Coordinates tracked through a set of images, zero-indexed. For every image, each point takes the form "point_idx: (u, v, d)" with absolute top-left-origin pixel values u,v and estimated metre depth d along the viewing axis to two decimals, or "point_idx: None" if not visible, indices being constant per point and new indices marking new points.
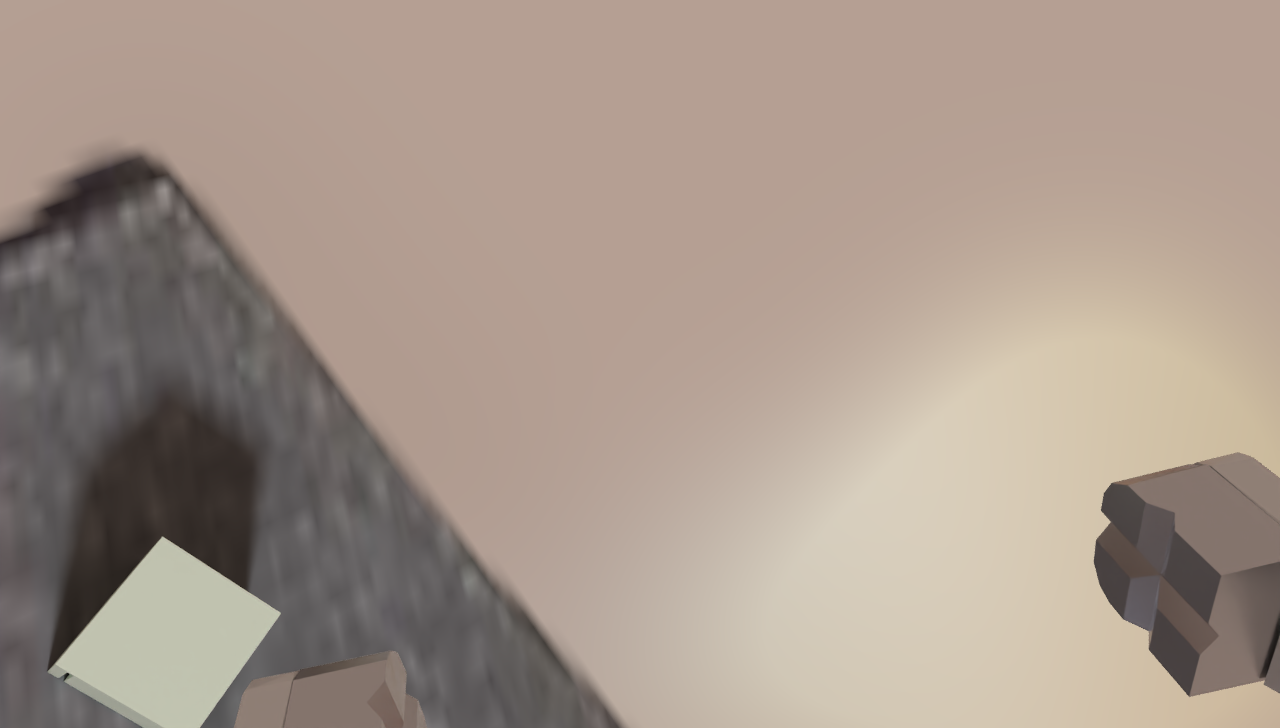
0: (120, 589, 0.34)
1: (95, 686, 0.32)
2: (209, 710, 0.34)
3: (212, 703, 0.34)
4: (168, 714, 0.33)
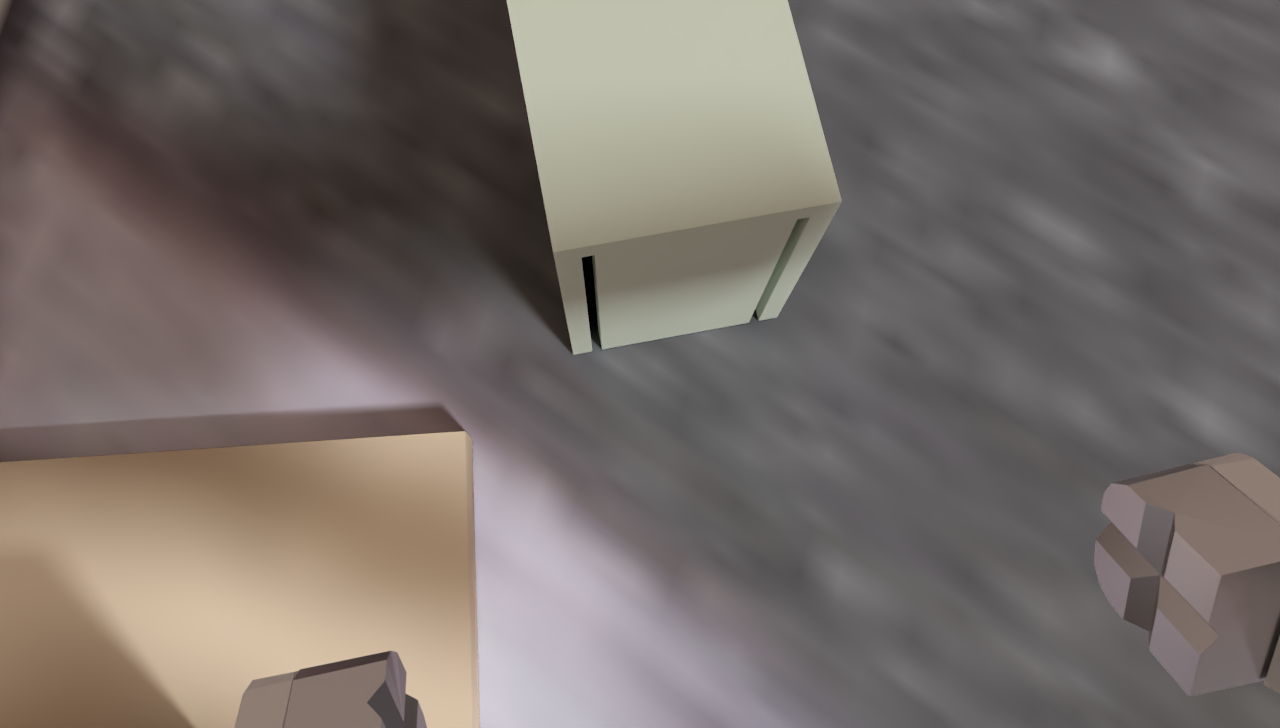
0: (528, 100, 0.17)
1: (636, 235, 0.17)
2: (822, 143, 0.17)
3: (816, 132, 0.17)
4: (773, 191, 0.17)
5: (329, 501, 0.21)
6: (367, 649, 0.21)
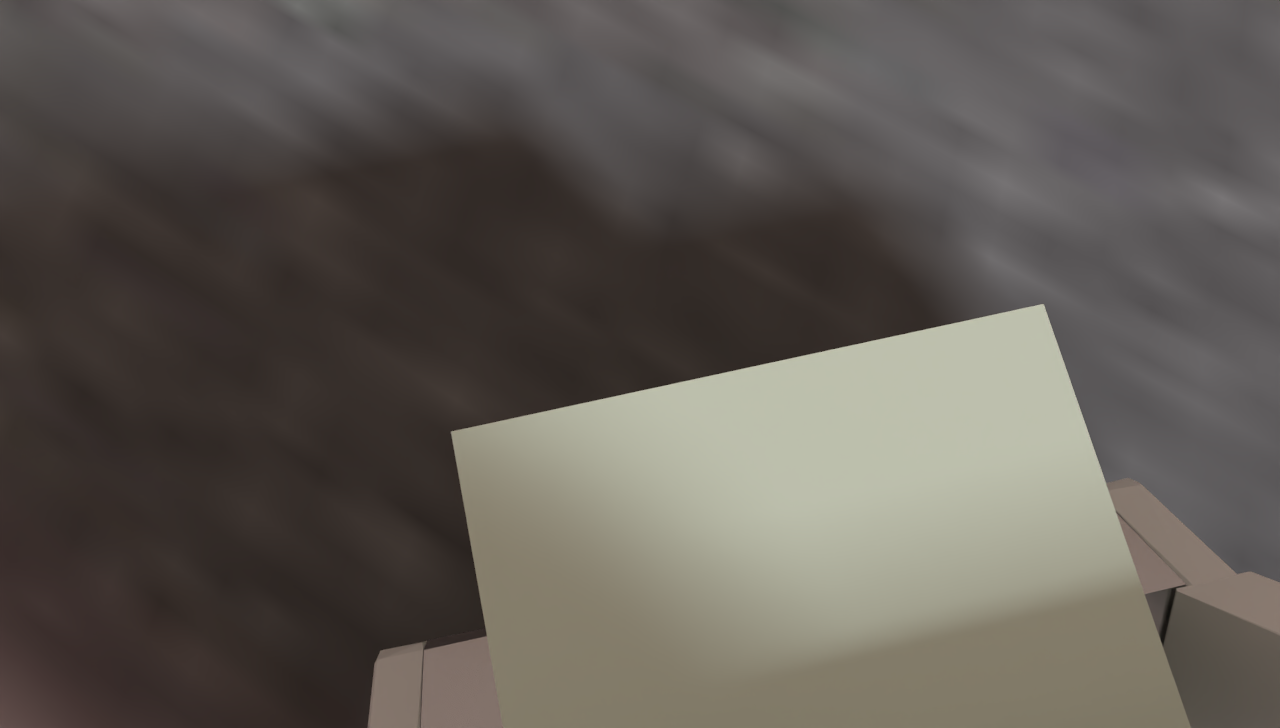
0: (508, 708, 0.07)
1: None
2: None
3: None
4: None
5: None
6: None
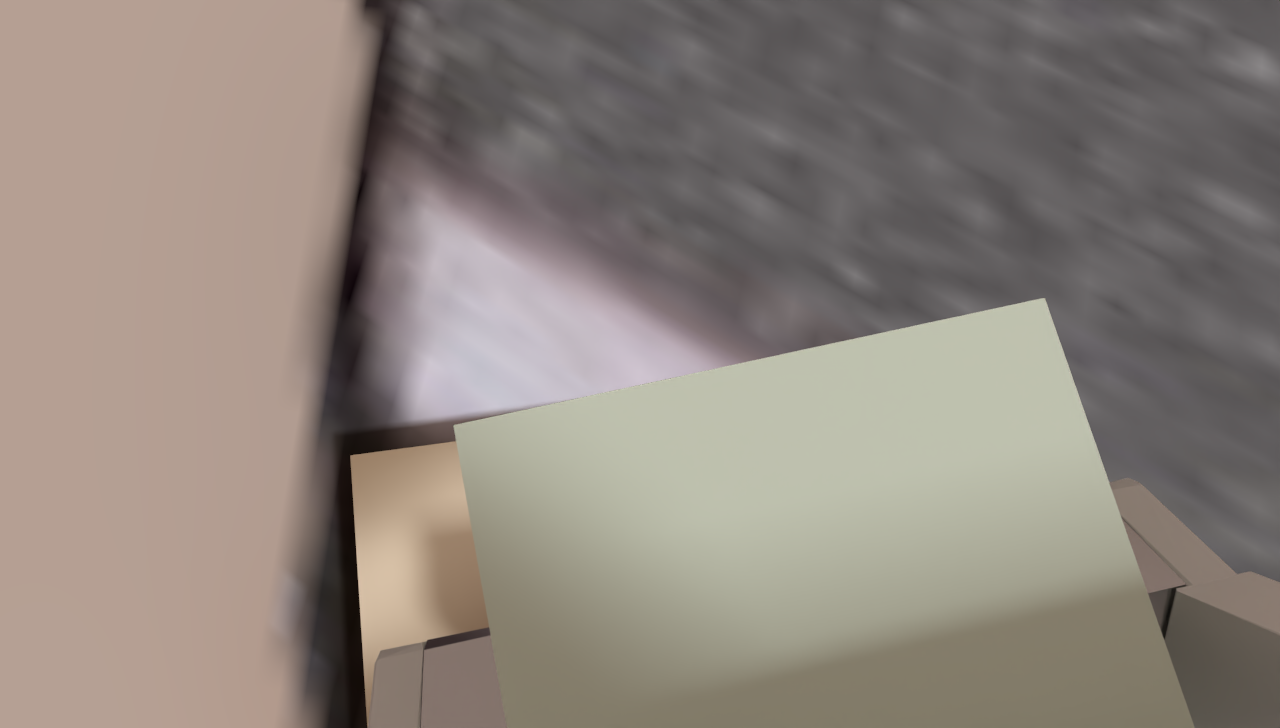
0: (510, 700, 0.07)
1: None
2: None
3: None
4: None
5: None
6: None
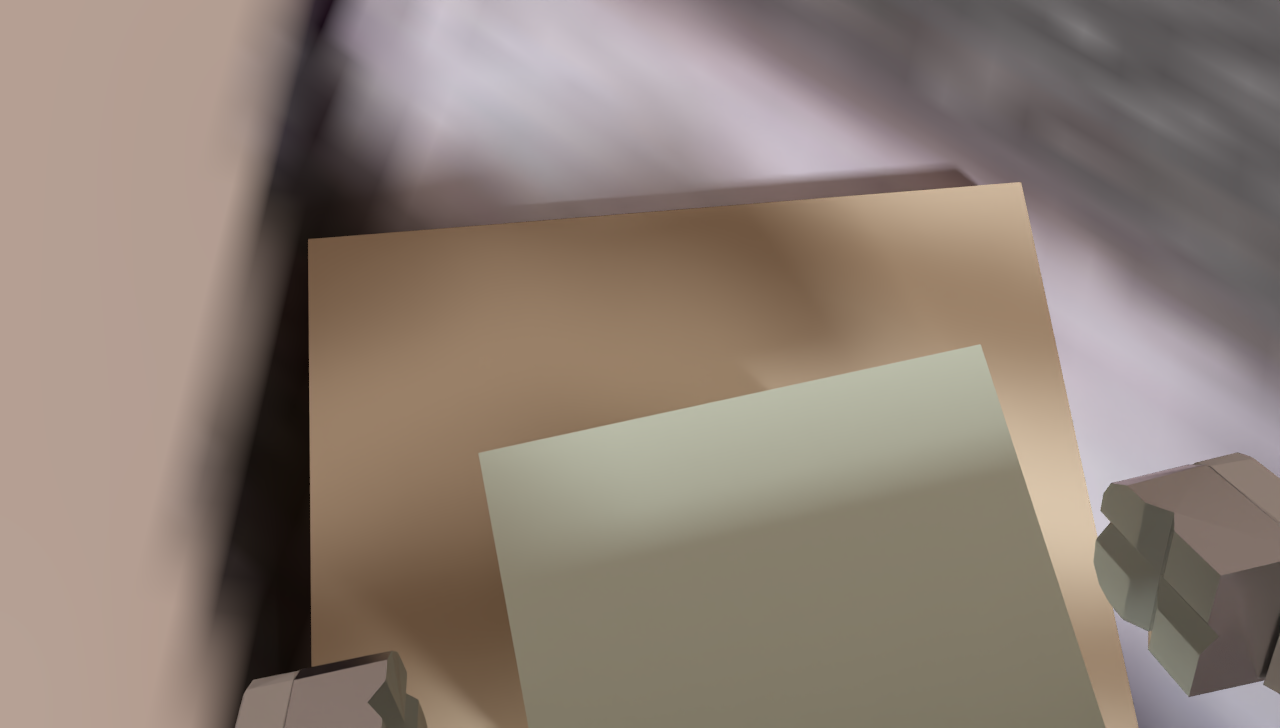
0: (528, 685, 0.09)
1: None
2: None
3: None
4: None
5: (873, 264, 0.18)
6: None
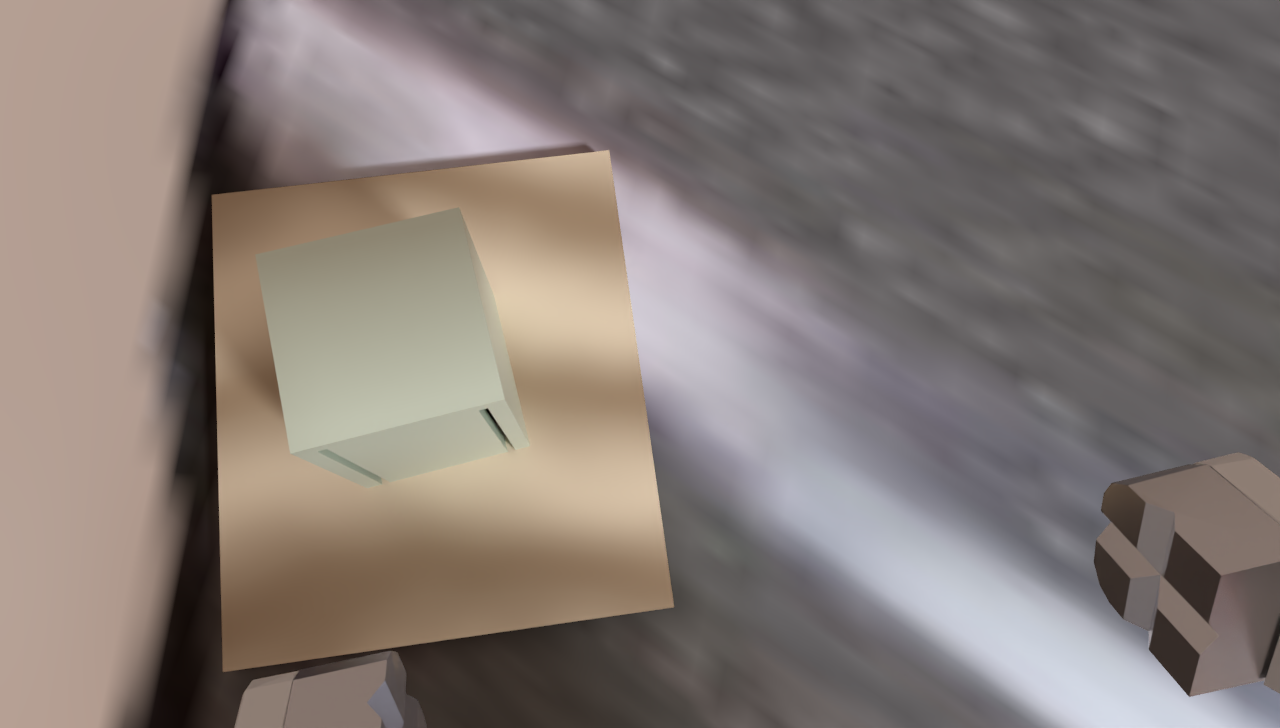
0: (272, 336, 0.23)
1: (352, 436, 0.23)
2: (491, 354, 0.23)
3: (487, 346, 0.23)
4: (454, 394, 0.23)
5: (523, 197, 0.32)
6: (560, 284, 0.31)
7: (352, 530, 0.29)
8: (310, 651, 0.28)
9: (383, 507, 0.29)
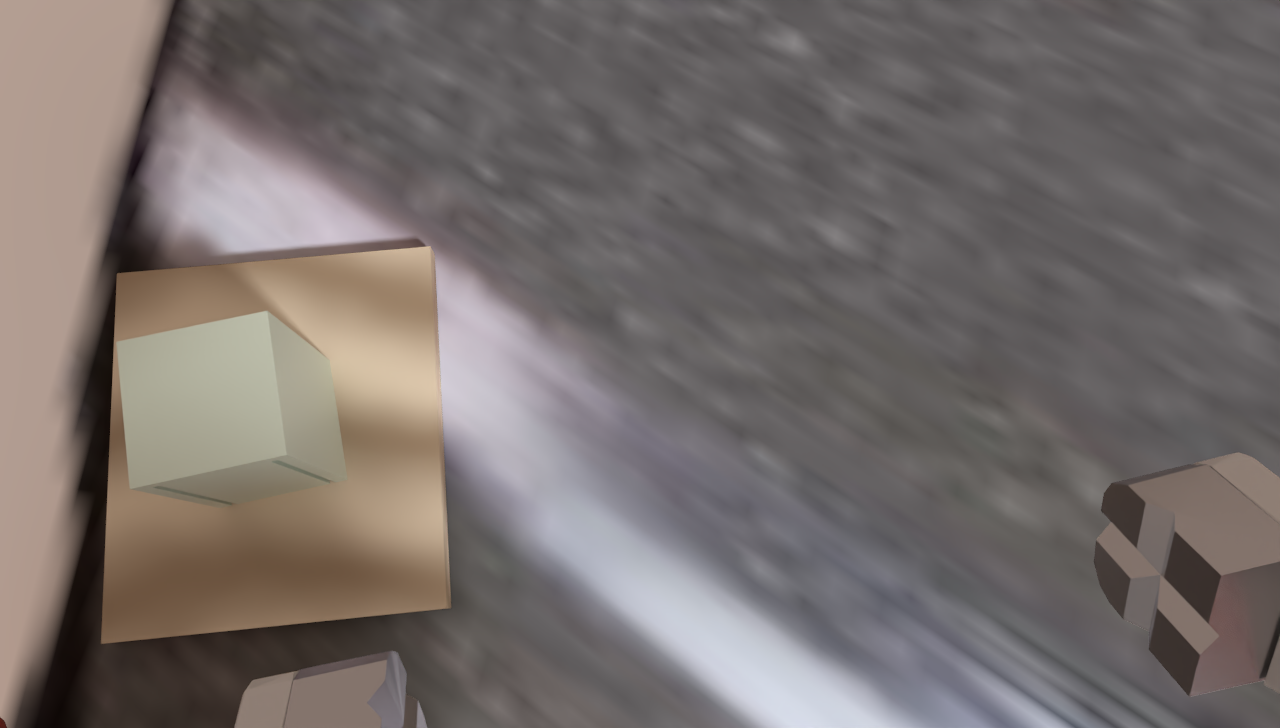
0: (124, 403, 0.32)
1: (175, 478, 0.31)
2: (280, 421, 0.32)
3: (277, 415, 0.32)
4: (250, 450, 0.32)
5: (359, 282, 0.41)
6: (382, 353, 0.40)
7: (206, 540, 0.38)
8: (167, 631, 0.37)
9: (230, 523, 0.38)
